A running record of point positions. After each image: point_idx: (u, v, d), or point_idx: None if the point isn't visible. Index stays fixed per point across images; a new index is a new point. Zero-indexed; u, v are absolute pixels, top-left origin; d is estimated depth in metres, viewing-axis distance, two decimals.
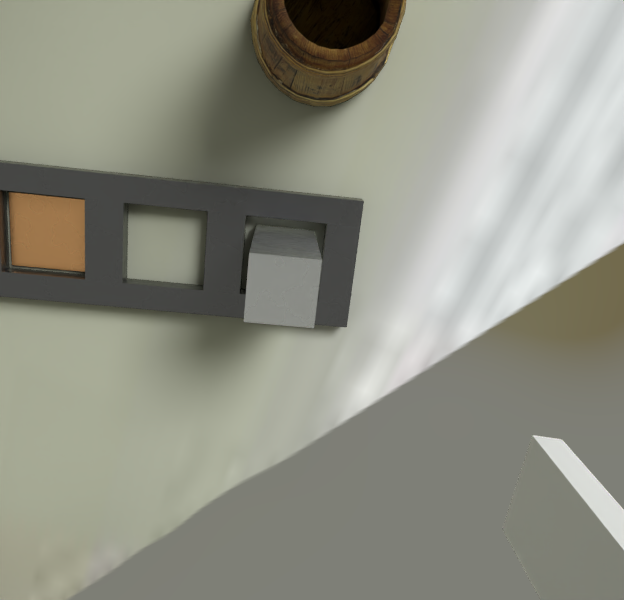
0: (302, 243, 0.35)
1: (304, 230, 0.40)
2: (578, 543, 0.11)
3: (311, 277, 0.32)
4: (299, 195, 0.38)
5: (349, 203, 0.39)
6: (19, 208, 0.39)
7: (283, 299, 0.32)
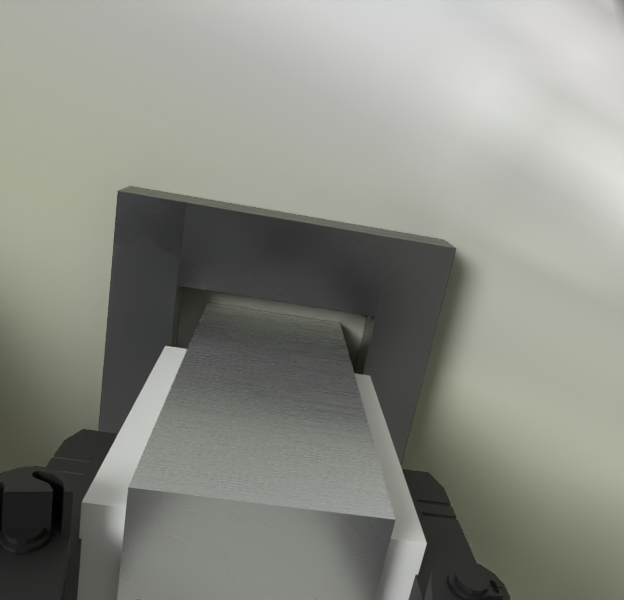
0: None
1: None
2: None
3: (197, 522, 0.09)
4: (107, 346, 0.16)
5: (125, 226, 0.15)
6: None
7: None
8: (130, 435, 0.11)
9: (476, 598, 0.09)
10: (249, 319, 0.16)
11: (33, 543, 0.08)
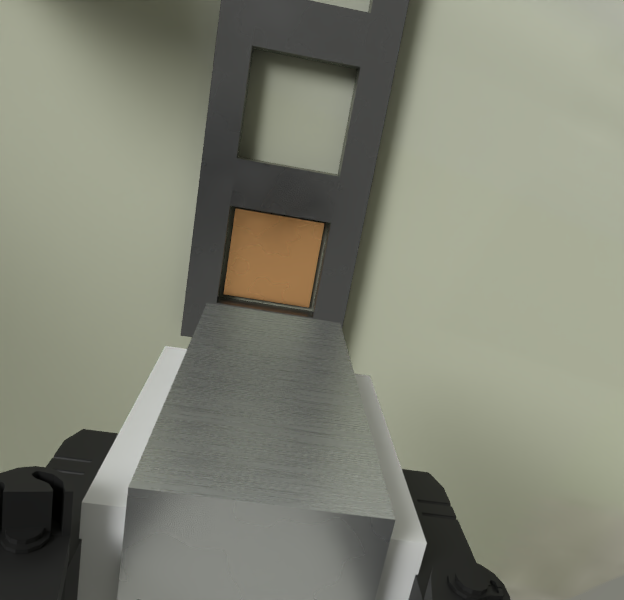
0: None
1: None
2: None
3: (198, 522, 0.09)
4: None
5: None
6: (243, 286, 0.33)
7: None
8: (130, 435, 0.11)
9: (476, 598, 0.09)
10: (249, 319, 0.16)
11: (33, 543, 0.08)
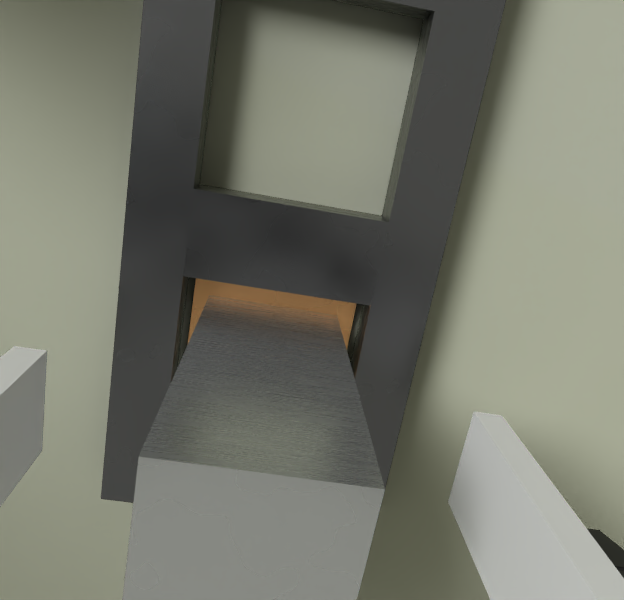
0: None
1: None
2: (505, 509, 0.12)
3: (203, 490, 0.09)
4: None
5: None
6: None
7: (273, 573, 0.10)
8: None
9: None
10: (250, 311, 0.17)
11: None
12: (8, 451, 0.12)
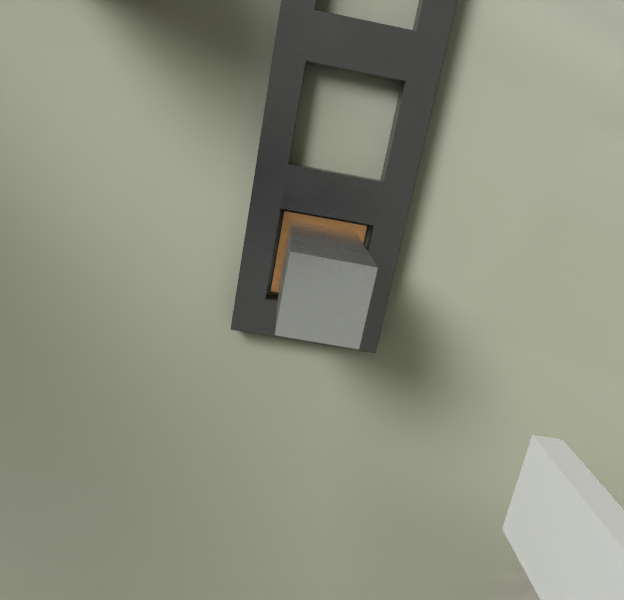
0: (287, 254, 0.30)
1: None
2: (578, 544, 0.11)
3: (312, 265, 0.26)
4: None
5: None
6: None
7: (335, 301, 0.26)
8: None
9: None
10: (313, 227, 0.33)
11: None
12: None
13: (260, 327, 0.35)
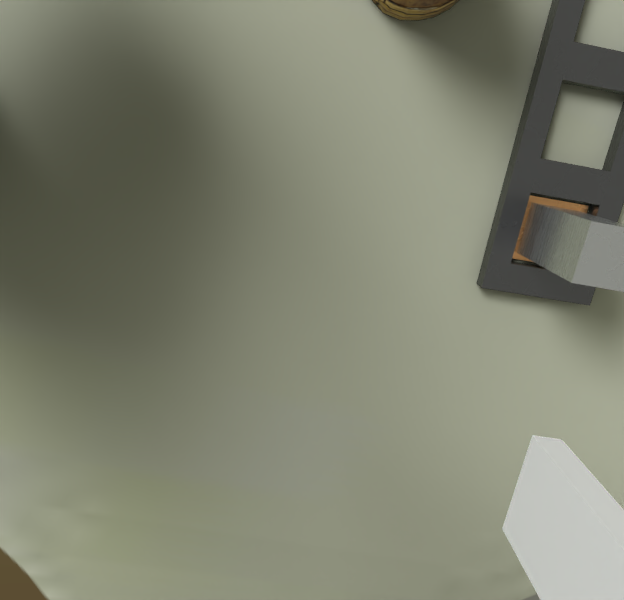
0: (557, 225, 0.40)
1: (531, 212, 0.44)
2: (578, 543, 0.11)
3: (605, 231, 0.36)
4: None
5: None
6: None
7: (618, 257, 0.36)
8: None
9: None
10: (553, 206, 0.43)
11: None
12: None
13: (504, 285, 0.45)
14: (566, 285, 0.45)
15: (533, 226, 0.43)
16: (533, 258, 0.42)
